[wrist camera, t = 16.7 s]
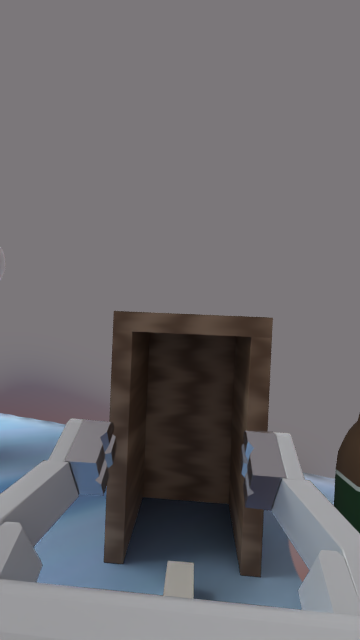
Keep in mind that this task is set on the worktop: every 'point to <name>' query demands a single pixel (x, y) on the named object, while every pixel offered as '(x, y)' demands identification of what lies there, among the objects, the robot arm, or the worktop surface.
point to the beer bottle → (349, 477)
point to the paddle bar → (179, 579)
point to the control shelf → (186, 418)
